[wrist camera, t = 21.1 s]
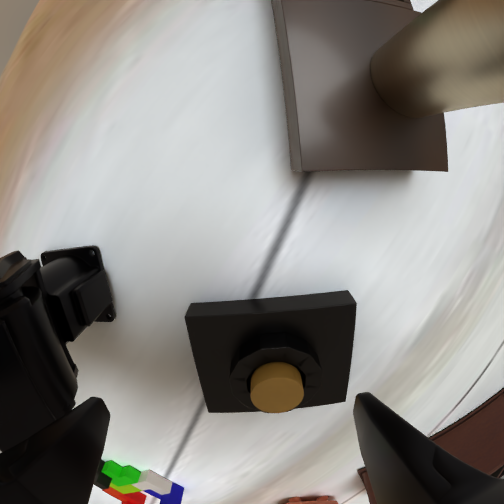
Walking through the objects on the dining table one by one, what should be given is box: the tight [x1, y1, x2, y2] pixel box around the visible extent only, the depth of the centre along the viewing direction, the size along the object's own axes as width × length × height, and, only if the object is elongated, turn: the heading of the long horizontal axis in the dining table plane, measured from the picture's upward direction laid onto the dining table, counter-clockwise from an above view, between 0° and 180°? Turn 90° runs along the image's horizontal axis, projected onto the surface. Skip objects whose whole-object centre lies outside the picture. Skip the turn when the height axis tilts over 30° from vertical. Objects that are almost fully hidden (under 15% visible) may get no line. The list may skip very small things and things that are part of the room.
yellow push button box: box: [185, 290, 357, 413], centre depth 21 cm, size 12×10×4 cm
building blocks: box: [94, 460, 184, 504], centre depth 29 cm, size 15×13×4 cm
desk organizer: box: [358, 388, 504, 504], centre depth 23 cm, size 10×29×11 cm, turn 115°
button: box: [250, 362, 304, 413], centre depth 19 cm, size 4×4×2 cm
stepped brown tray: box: [271, 0, 448, 172], centre depth 14 cm, size 9×20×4 cm, turn 5°
